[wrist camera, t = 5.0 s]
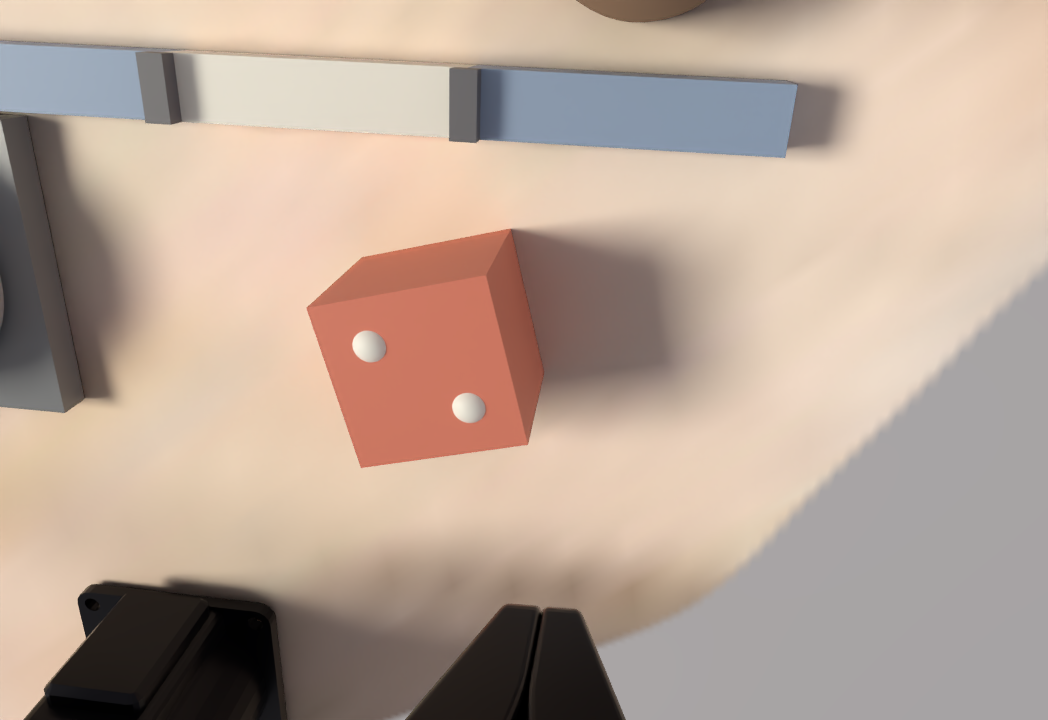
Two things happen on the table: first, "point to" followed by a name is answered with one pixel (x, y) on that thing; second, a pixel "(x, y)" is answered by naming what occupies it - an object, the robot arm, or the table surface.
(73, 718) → the robot arm
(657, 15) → the pawn
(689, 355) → the table surface
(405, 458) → the die
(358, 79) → the lane
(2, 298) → the dome
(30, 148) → the dome base
